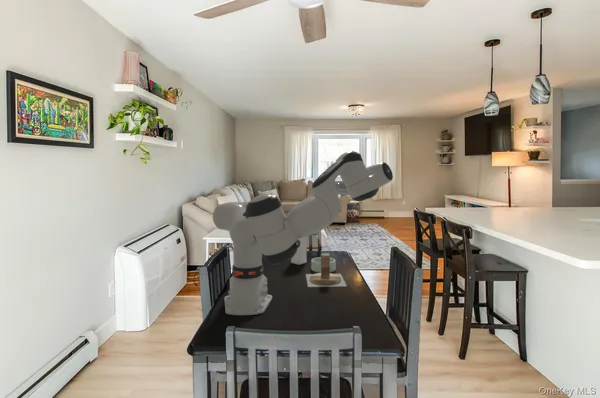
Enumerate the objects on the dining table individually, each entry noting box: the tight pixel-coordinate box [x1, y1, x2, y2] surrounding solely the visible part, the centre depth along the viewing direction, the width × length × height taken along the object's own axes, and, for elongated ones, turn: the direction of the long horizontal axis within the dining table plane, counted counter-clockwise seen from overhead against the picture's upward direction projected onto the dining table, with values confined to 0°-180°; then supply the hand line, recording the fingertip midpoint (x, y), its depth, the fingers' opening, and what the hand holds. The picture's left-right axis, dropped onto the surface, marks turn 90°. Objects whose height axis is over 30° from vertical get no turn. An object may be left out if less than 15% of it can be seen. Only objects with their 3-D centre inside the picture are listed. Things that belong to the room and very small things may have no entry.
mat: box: [305, 273, 348, 288], centre depth 164 cm, size 18×17×1 cm
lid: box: [310, 252, 341, 285], centre depth 164 cm, size 14×14×12 cm
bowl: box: [310, 256, 337, 273], centre depth 181 cm, size 12×12×5 cm
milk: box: [290, 237, 307, 266], centre depth 194 cm, size 6×6×22 cm
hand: (333, 194), depth 152 cm, fingers open, 8 cm apart
